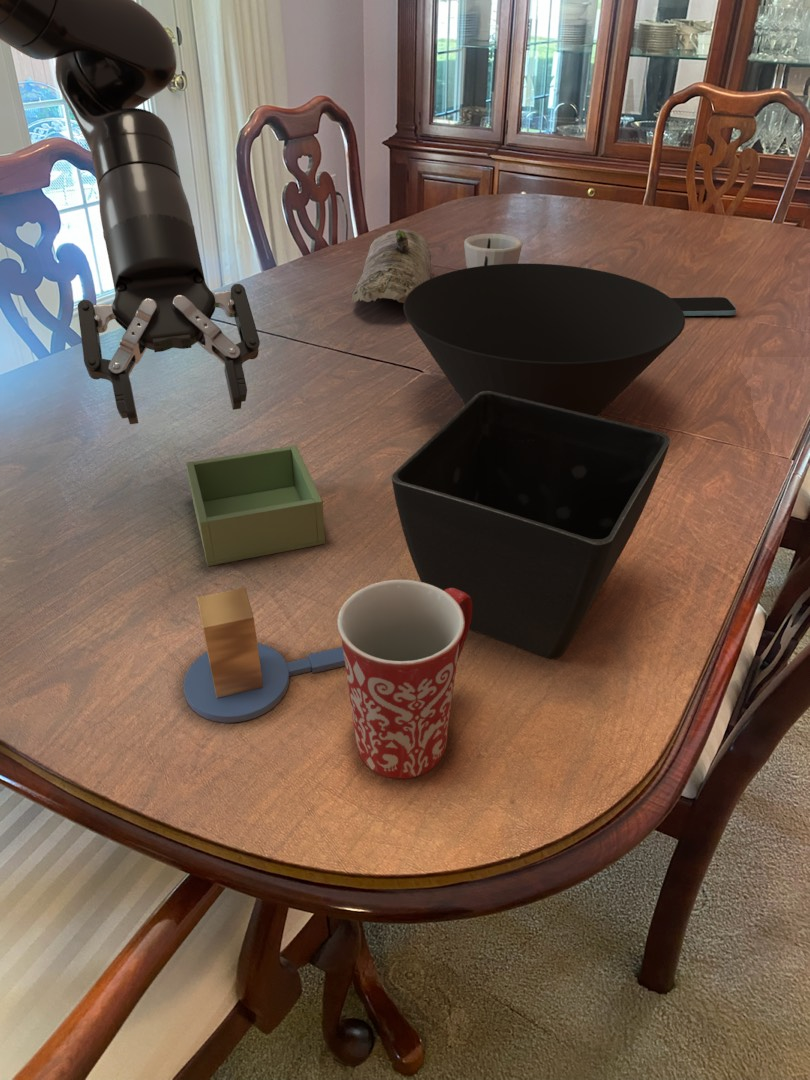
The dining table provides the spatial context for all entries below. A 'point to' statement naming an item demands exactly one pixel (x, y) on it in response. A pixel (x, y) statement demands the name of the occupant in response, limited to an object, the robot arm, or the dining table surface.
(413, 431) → the dining table surface
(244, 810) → the dining table surface
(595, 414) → the bowl
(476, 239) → the mug
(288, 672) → the blue ping pong paddle
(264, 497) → the green storage bin
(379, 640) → the mug
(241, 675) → the wooden block
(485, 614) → the flower pot
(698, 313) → the smartphone
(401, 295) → the log
